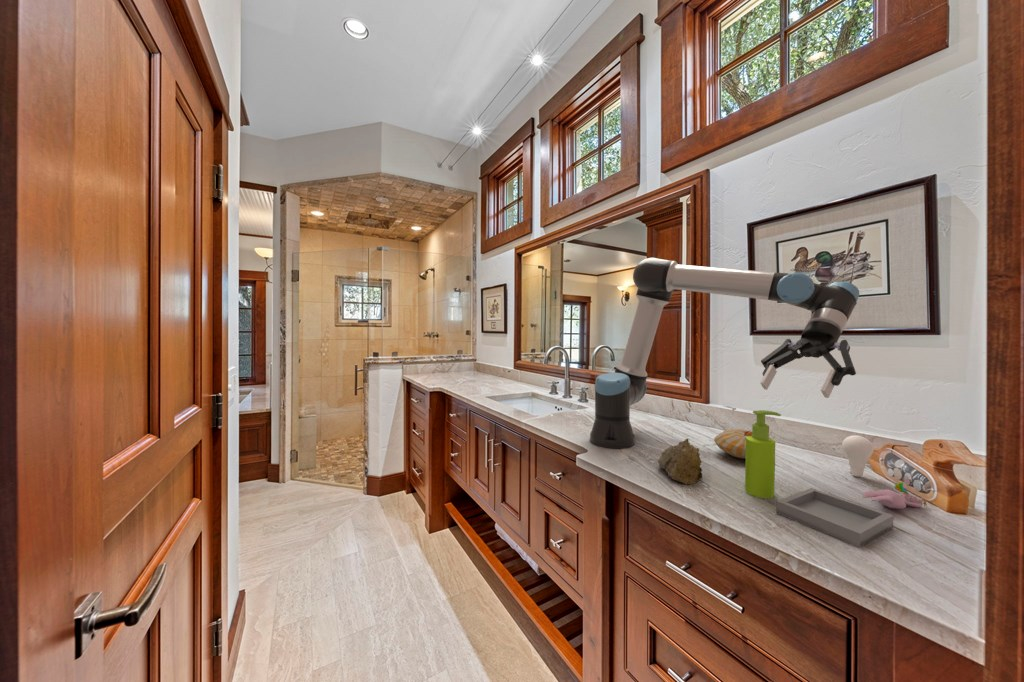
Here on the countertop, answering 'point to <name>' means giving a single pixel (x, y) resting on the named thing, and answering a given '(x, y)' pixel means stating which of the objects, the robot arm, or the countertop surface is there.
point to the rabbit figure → (895, 498)
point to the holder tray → (836, 516)
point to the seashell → (682, 462)
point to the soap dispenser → (760, 458)
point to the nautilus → (733, 442)
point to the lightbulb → (857, 453)
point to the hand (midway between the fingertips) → (792, 390)
